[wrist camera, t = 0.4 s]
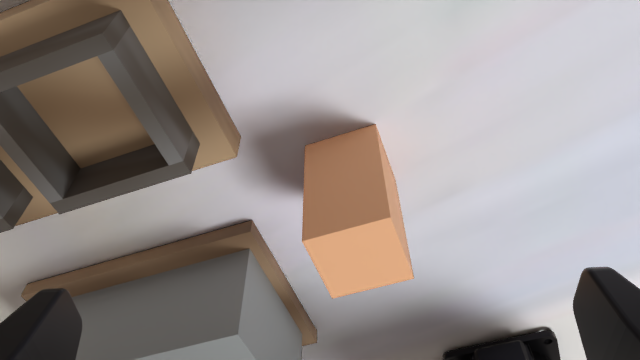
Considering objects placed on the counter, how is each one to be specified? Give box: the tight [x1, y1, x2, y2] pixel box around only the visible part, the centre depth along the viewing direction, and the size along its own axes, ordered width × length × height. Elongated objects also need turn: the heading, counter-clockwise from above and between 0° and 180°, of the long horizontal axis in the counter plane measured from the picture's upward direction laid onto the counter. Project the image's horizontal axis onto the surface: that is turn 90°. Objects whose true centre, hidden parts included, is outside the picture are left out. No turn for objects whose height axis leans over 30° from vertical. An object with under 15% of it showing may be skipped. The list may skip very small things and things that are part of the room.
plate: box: [21, 220, 317, 346], centre depth 29 cm, size 9×13×4 cm
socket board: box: [0, 0, 241, 233], centre depth 22 cm, size 8×16×4 cm, turn 110°
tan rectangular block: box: [302, 124, 414, 299], centre depth 22 cm, size 3×3×6 cm
